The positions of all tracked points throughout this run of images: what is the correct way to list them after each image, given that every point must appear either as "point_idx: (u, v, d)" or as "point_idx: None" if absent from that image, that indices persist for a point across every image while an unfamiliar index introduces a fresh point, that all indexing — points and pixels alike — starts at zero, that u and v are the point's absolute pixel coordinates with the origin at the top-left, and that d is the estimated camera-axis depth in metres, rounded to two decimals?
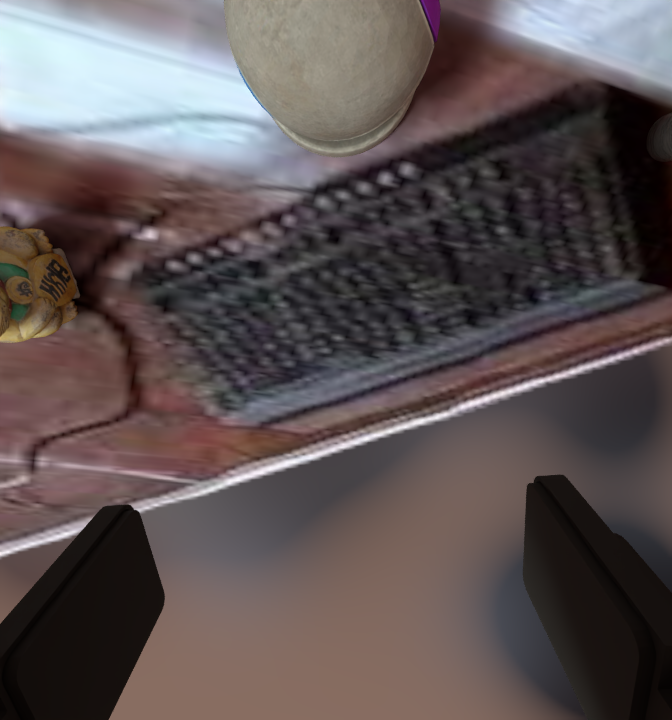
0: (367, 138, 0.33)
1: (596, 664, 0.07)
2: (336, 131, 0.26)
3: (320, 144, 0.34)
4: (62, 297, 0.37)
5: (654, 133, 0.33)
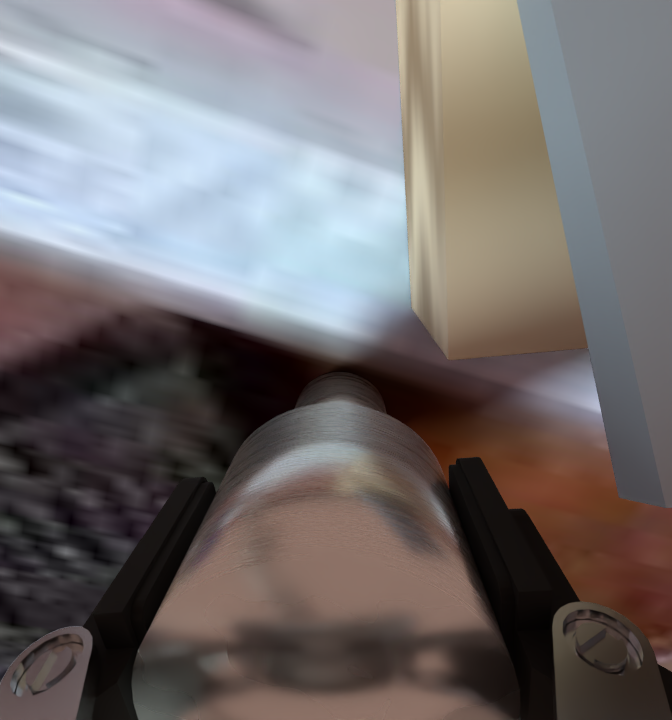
0: None
1: None
2: None
3: None
4: None
5: None
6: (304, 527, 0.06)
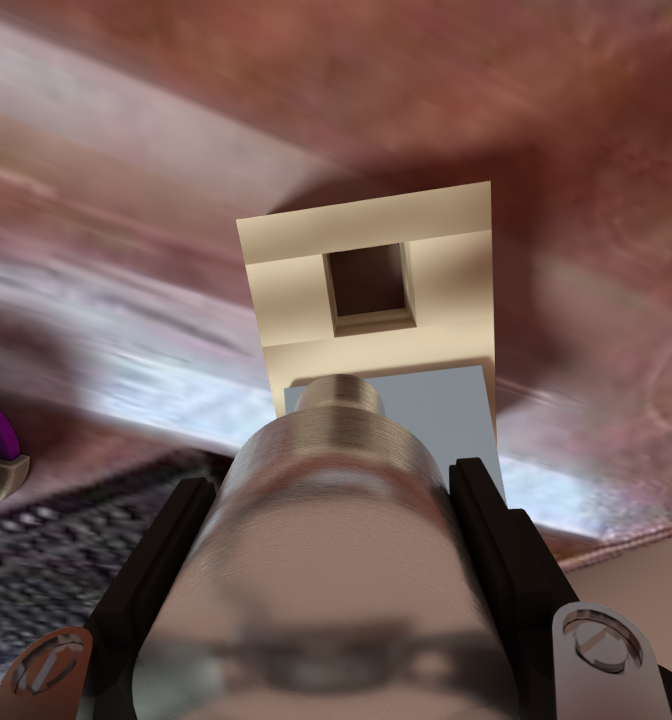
0: None
1: None
2: None
3: None
4: None
5: None
6: (304, 531, 0.06)
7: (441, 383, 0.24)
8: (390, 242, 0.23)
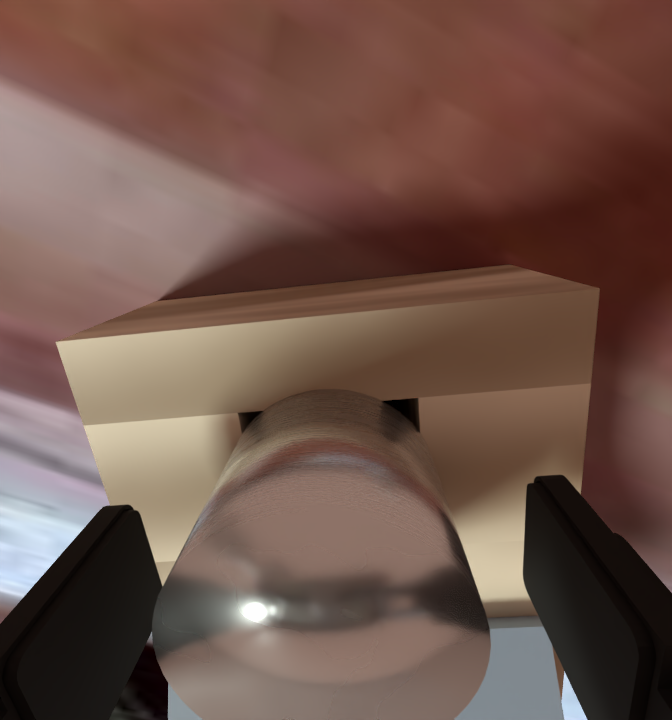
0: None
1: (596, 664, 0.07)
2: None
3: None
4: None
5: None
6: (303, 487, 0.07)
7: None
8: (378, 398, 0.11)
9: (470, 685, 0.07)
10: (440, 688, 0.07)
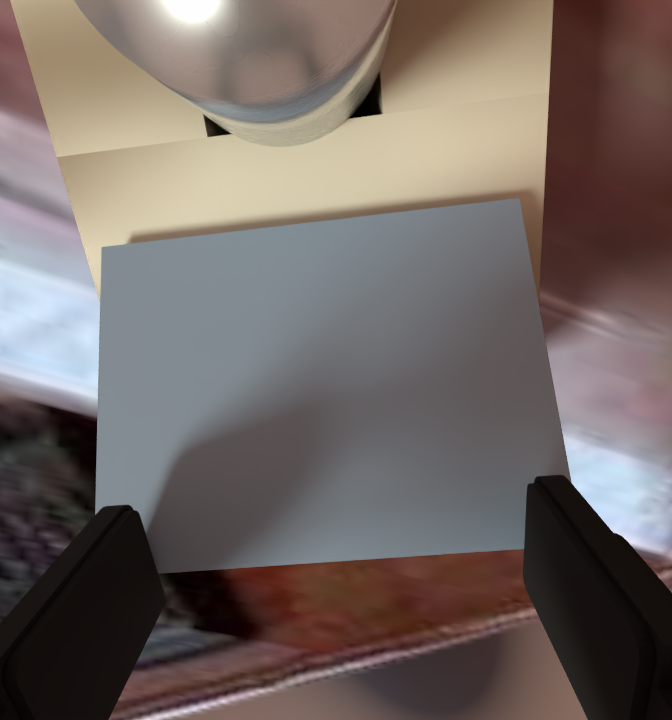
0: None
1: (596, 664, 0.07)
2: None
3: None
4: None
5: None
6: None
7: (431, 234, 0.11)
8: None
9: None
10: None
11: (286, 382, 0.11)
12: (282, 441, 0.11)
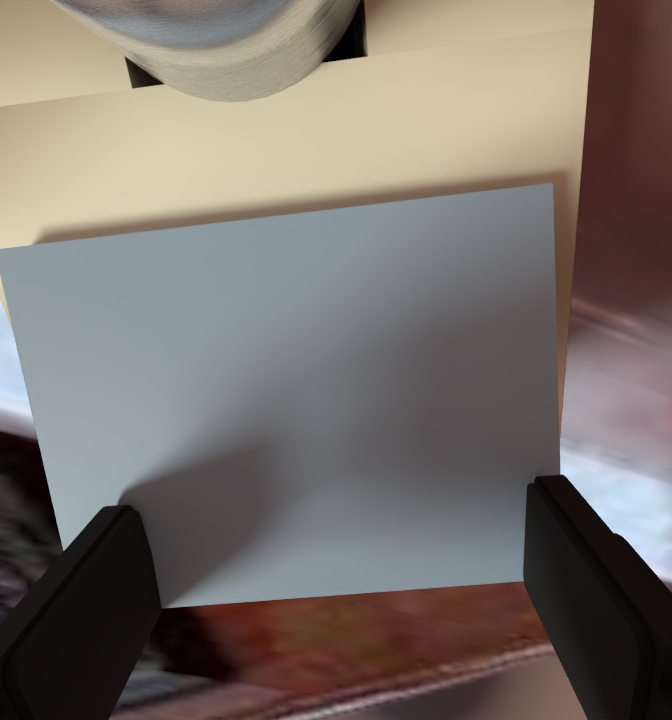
0: None
1: (596, 664, 0.07)
2: None
3: None
4: None
5: None
6: None
7: (433, 236, 0.09)
8: None
9: None
10: None
11: (257, 424, 0.09)
12: (257, 487, 0.10)
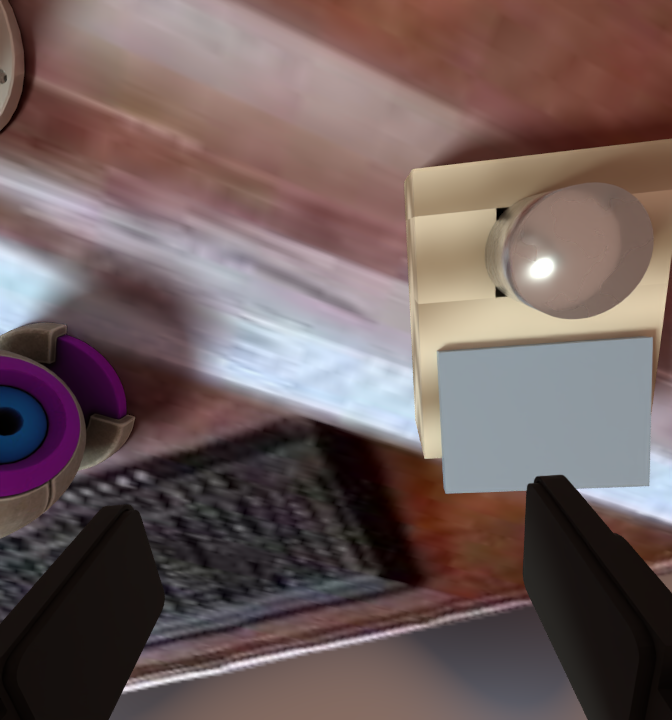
0: (87, 463, 0.35)
1: (596, 664, 0.07)
2: None
3: None
4: None
5: None
6: None
7: (606, 353, 0.24)
8: None
9: (642, 269, 0.19)
10: (629, 272, 0.19)
11: (530, 420, 0.25)
12: (527, 444, 0.25)
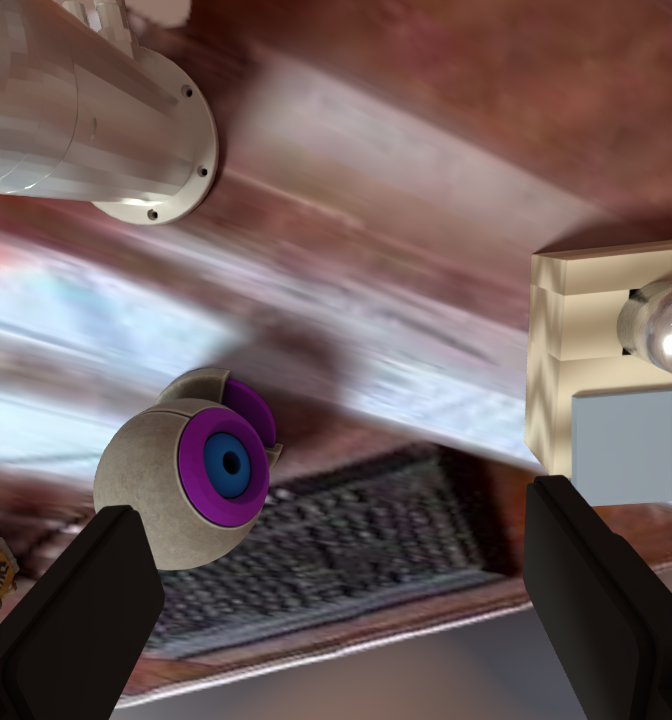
0: None
1: (596, 664, 0.07)
2: None
3: None
4: (0, 591, 0.44)
5: None
6: None
7: None
8: None
9: None
10: None
11: (646, 449, 0.32)
12: (643, 468, 0.32)
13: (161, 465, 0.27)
